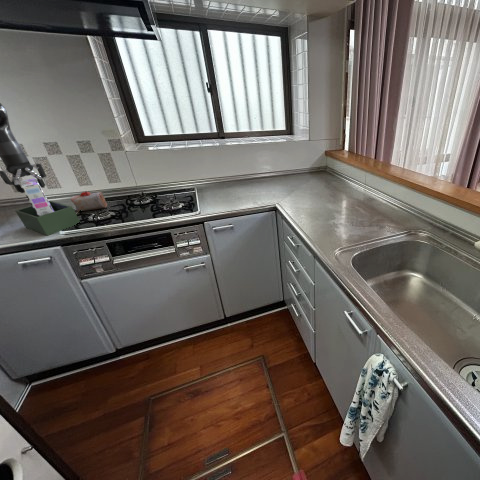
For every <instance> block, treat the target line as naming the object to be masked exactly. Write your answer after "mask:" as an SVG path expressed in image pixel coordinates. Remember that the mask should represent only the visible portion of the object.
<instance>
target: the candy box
mask: <svg viewBox="0 0 480 480" xmlns="http://www.w3.org/2000/svg"><path fill="white" fill-rule="evenodd" d="M19 185H20V186H21V188H22V190H23V192H24V193H23V194H24V195H25V197H26V199H27V200H28V202H29V204H30V206H32V207H33V209H34V210H35V212H36V214H37V215H38V217H39V216H42V215H46V214H49V213H52V212H54V210H53V208H52V207H51V205H50V203H49V201H50V200H49V199H48V198H47V196H46V194H45V192H44V191H43V190H44V189H43V188H41V187H40V185H39V183H38V181H37V178H35V177H33V178H30V179H28V178H27V179H23V180H19Z"/></svg>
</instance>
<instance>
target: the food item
mask: <svg viewBox="0 0 480 480" xmlns="http://www.w3.org/2000/svg"><path fill="white" fill-rule="evenodd" d="M70 201H71V202H72V204H73V205H74V207H75V209H76V211H77V212H78V213H80V212H79V211H80V210H82V211H84V212H89V211H94V210H95V211H96V210H102V209H106V208H107V207H108V203H107V201H106V199H105V197H104V194H103V192H102V191H97V192H90V191H88V190H85V191H83V192H81V193H80V194H78V195H73V196H71V198H70Z"/></svg>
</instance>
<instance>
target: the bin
mask: <svg viewBox="0 0 480 480" xmlns="http://www.w3.org/2000/svg"><path fill="white" fill-rule="evenodd" d="M48 201H49V203H50V205H51V207H52V208H53V210H54V212H52V213H49V214H46V215H42V216H39V217H38V215H37V214H36V212H35V210H34V209H33V207H32V205H30V206H26V207H24V208H19V209H16V210H15V211H14V212H15V214H16V215H17V216H18V218H19V219H20V221H21V222H22V224H23V226H24V227H25V228H26V229H27V230H31V231H33V232H36V233H39V234H42V235H44V236H47V237H48V236H52V235H54V234H56V233H58V232H61V230H62V231H64V230H67V229H69V227H70V228H72V226H73V227H75V226H77V225H76V224H77V223H79V222H80V223H81V220H80V219H79V217H78V215H77V213H76V212H75V209H74V208H73V206H72V205H67V204H65V203H60V202H57V201H53V200H48ZM74 225H75V226H74ZM66 228H67V229H66ZM63 229H64V230H63Z"/></svg>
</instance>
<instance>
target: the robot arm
mask: <svg viewBox="0 0 480 480" xmlns="http://www.w3.org/2000/svg"><path fill="white" fill-rule="evenodd" d="M0 160H1V161H2V163H3V164H4V166H5V169H1V170H0V178H1V179H2V180H3V182H4V184H6V185H9V186H13V187H14V188H15V190H16V191H17V192H18V193H20V194H25V193H24V192H23V190H22V188H21V185H20V182H19V181H21V178H24V177H28V176H31V177H33V178H35V179H36V180H37V182H38V183H39V185H40V187H41V188H42V189H44V188H46V184H45V181H44V180H43V179H44V178H46V177H47V174H46V172H45V169H44V167H43V165H42V164H41V163H33V164H32V163H31V162H30V160H29V159H28V157H27V155H26V153H25V151H24V149H23V148H22V146H21V144H20V143H19V142H18V140H17V138H16V136H15V135H14V133H13V131H12V129H11V125H10V119H9V116H8V112H7V109H6V107H5V106H4V105H3V104H2V103H1V102H0ZM34 169H36V170H37V172H38V173H36V172H34V171H33V170H34ZM8 173H9V174H11V179H10V178H9V177H8Z"/></svg>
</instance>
